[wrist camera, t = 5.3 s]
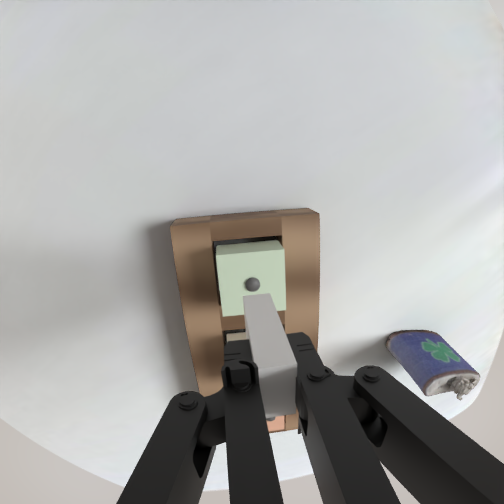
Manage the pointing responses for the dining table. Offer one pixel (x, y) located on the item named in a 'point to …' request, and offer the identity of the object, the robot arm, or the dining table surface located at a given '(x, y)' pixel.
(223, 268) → the tile
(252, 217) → the board
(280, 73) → the dining table surface
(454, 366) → the flask
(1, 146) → the dining table surface
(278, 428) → the three-pip tile
